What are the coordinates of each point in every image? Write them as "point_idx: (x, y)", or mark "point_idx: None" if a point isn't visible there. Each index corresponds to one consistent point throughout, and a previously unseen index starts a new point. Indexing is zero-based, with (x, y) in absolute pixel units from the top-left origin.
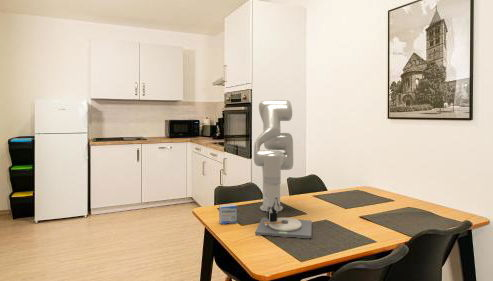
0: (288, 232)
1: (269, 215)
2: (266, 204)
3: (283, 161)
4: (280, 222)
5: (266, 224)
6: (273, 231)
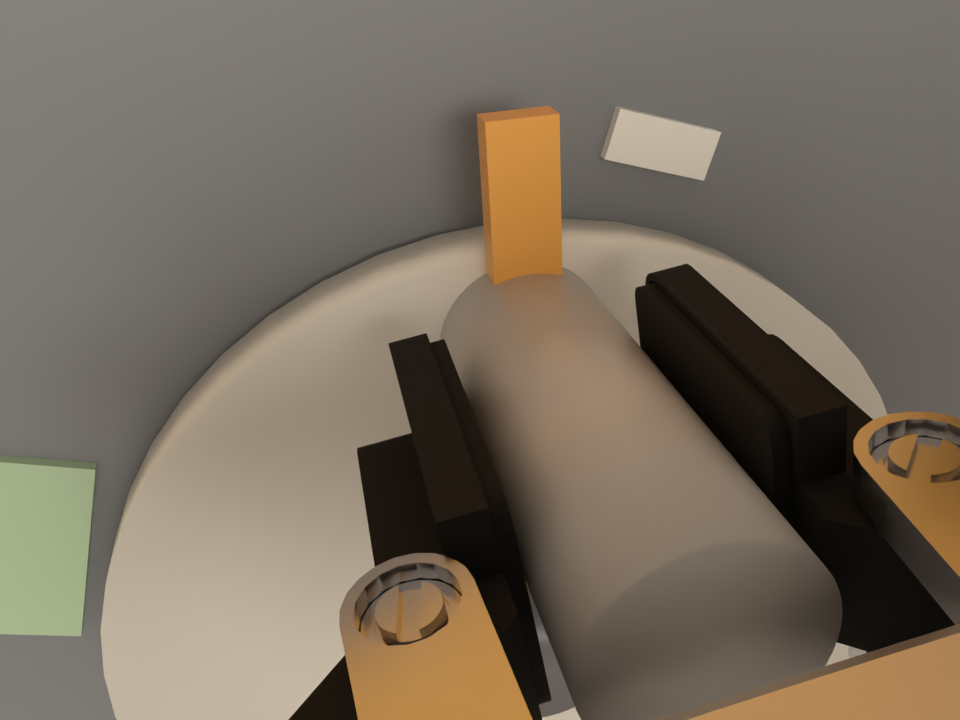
0: (78, 648)
1: (567, 404)
2: (837, 693)
3: None
4: None
5: (648, 165)
6: (103, 331)
